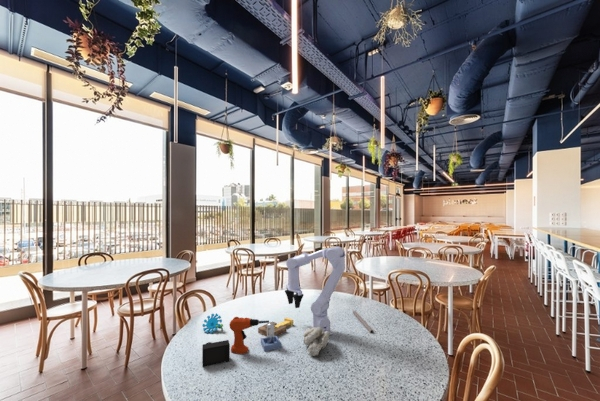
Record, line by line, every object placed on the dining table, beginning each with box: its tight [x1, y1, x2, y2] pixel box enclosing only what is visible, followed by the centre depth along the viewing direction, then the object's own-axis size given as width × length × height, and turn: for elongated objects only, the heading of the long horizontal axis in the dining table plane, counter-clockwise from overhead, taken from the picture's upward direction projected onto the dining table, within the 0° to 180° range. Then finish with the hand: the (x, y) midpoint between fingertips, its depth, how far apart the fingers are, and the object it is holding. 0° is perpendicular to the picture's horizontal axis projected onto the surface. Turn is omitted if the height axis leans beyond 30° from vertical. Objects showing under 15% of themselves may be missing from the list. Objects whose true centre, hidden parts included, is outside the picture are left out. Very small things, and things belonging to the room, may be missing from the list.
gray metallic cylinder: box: [266, 321, 275, 344], centre depth 121 cm, size 3×3×9 cm
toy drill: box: [229, 316, 270, 355], centre depth 115 cm, size 5×19×15 cm, turn 79°
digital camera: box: [201, 339, 231, 368], centre depth 108 cm, size 10×5×7 cm, turn 112°
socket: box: [257, 321, 290, 337], centre depth 136 cm, size 10×15×2 cm, turn 140°
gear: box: [202, 313, 224, 334], centre depth 138 cm, size 11×6×10 cm
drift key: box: [274, 317, 294, 329], centre depth 140 cm, size 5×10×3 cm, turn 140°
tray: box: [260, 336, 282, 352], centre depth 120 cm, size 8×8×2 cm
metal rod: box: [352, 310, 375, 334], centre depth 145 cm, size 2×27×2 cm, turn 7°
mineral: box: [302, 327, 330, 357], centre depth 118 cm, size 12×17×10 cm
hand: (294, 305), depth 143 cm, fingers open, 7 cm apart
